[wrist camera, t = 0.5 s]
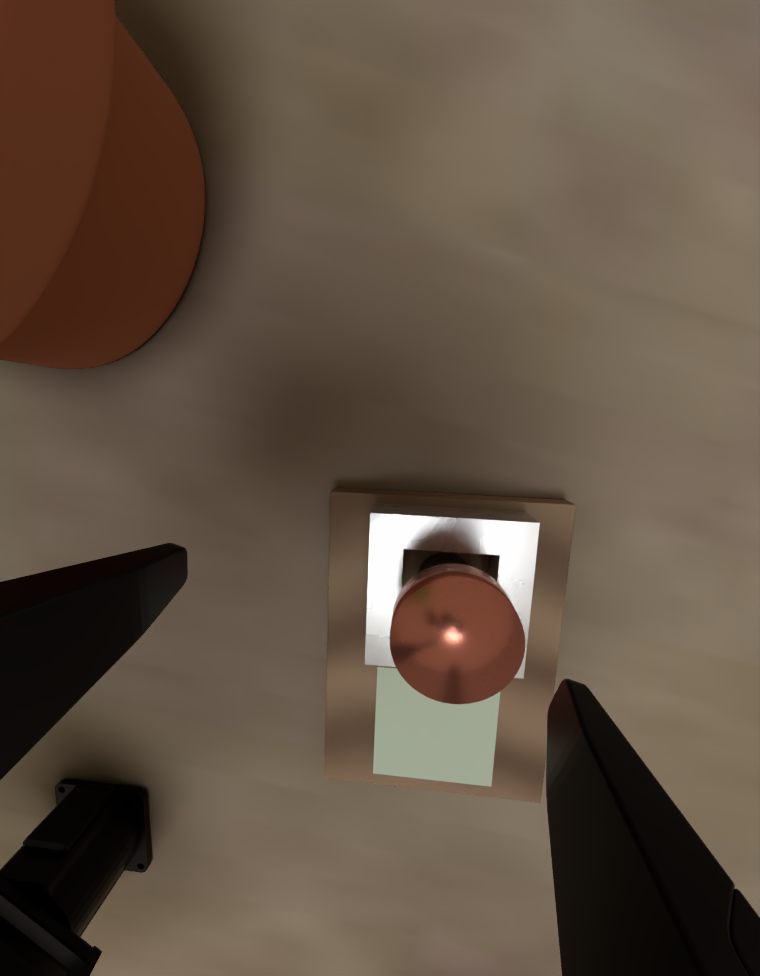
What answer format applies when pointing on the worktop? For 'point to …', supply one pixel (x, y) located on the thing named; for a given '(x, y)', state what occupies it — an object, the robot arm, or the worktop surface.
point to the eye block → (447, 531)
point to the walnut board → (348, 584)
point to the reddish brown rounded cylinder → (455, 632)
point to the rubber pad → (432, 734)
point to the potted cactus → (89, 187)
